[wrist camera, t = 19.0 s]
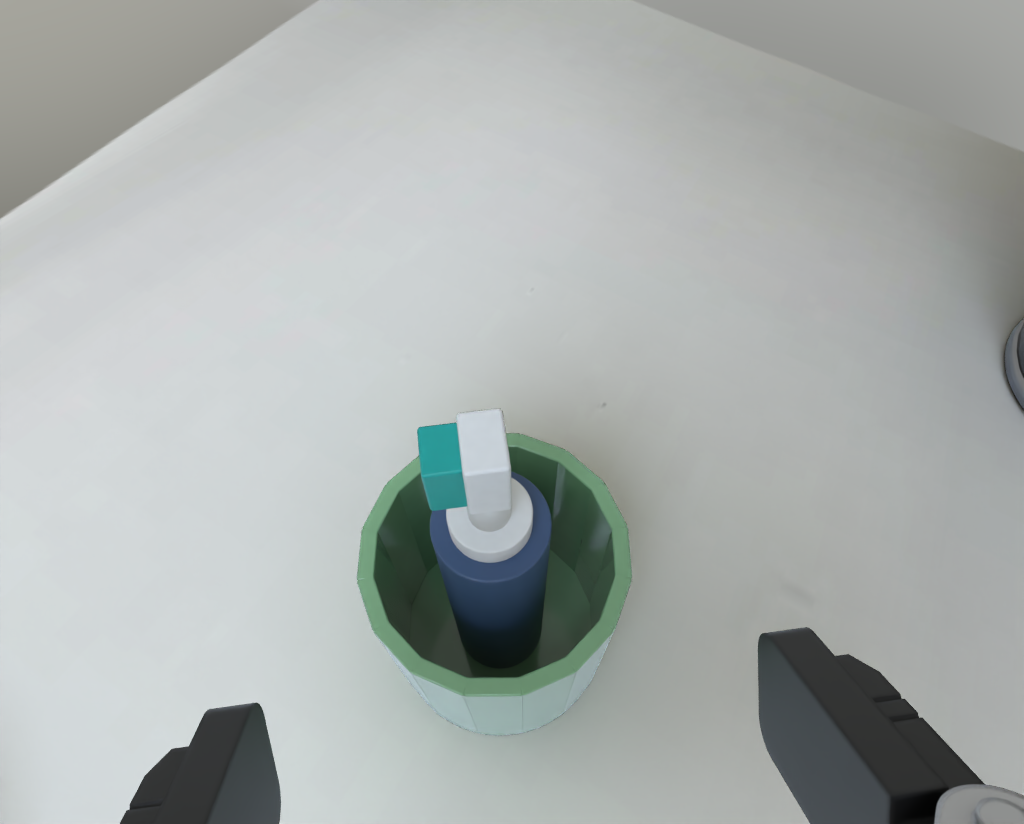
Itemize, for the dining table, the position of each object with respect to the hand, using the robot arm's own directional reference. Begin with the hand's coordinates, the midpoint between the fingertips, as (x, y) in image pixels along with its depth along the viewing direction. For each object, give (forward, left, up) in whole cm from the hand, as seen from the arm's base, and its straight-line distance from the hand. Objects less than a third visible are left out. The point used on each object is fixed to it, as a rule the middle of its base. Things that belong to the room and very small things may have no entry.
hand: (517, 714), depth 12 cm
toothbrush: (-5, -3, -17) cm, 18 cm away
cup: (-5, -3, -17) cm, 18 cm away
